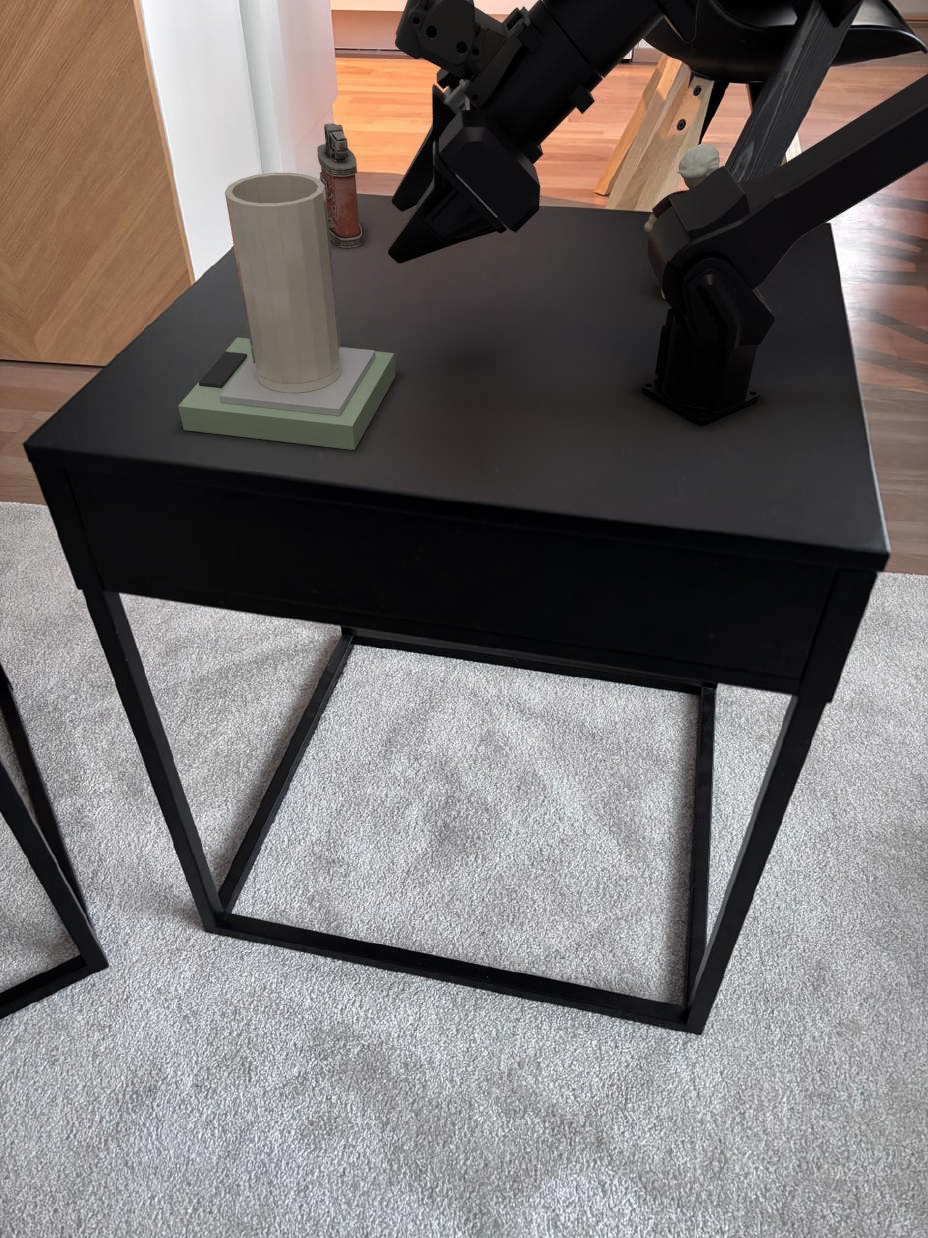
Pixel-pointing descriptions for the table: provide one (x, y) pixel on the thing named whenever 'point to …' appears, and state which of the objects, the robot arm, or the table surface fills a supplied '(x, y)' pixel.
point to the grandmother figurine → (688, 177)
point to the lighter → (340, 187)
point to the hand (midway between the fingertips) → (394, 230)
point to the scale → (289, 401)
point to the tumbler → (286, 279)
